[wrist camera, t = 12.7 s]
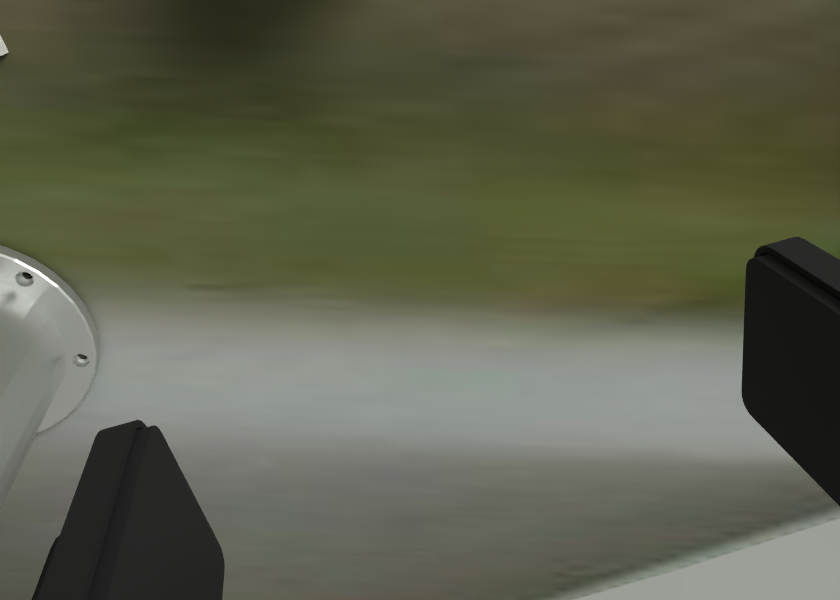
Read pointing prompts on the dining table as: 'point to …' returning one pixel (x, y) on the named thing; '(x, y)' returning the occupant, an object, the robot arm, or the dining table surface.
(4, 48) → the white pegged tray
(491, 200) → the dining table surface
